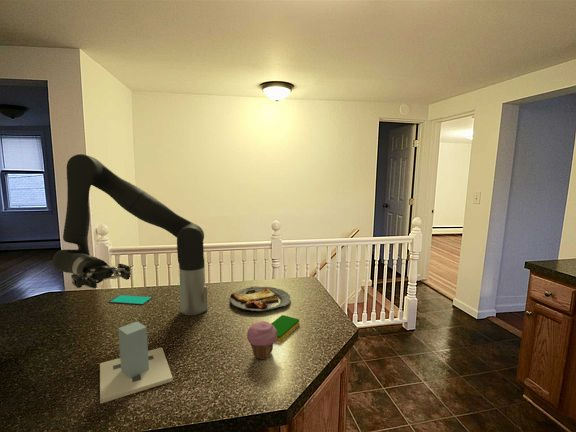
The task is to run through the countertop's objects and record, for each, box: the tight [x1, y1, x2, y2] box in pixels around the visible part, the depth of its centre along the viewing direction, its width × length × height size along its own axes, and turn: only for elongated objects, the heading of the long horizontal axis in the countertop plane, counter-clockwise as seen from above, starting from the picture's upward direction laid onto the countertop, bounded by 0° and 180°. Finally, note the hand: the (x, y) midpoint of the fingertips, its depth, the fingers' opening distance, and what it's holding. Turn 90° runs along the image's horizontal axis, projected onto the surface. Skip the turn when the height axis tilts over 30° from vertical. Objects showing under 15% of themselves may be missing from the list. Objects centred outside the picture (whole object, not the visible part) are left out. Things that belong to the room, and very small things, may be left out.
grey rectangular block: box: [117, 321, 149, 379], centre depth 83 cm, size 5×5×12 cm
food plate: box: [228, 286, 291, 312], centre depth 130 cm, size 25×23×4 cm
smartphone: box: [108, 294, 153, 306], centre depth 130 cm, size 7×1×15 cm
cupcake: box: [246, 320, 277, 360], centre depth 92 cm, size 9×9×10 cm
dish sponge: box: [270, 314, 300, 343], centre depth 107 cm, size 7×14×2 cm, turn 151°
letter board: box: [99, 347, 174, 404], centre depth 84 cm, size 16×16×1 cm
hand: (112, 280), depth 87 cm, fingers open, 8 cm apart
